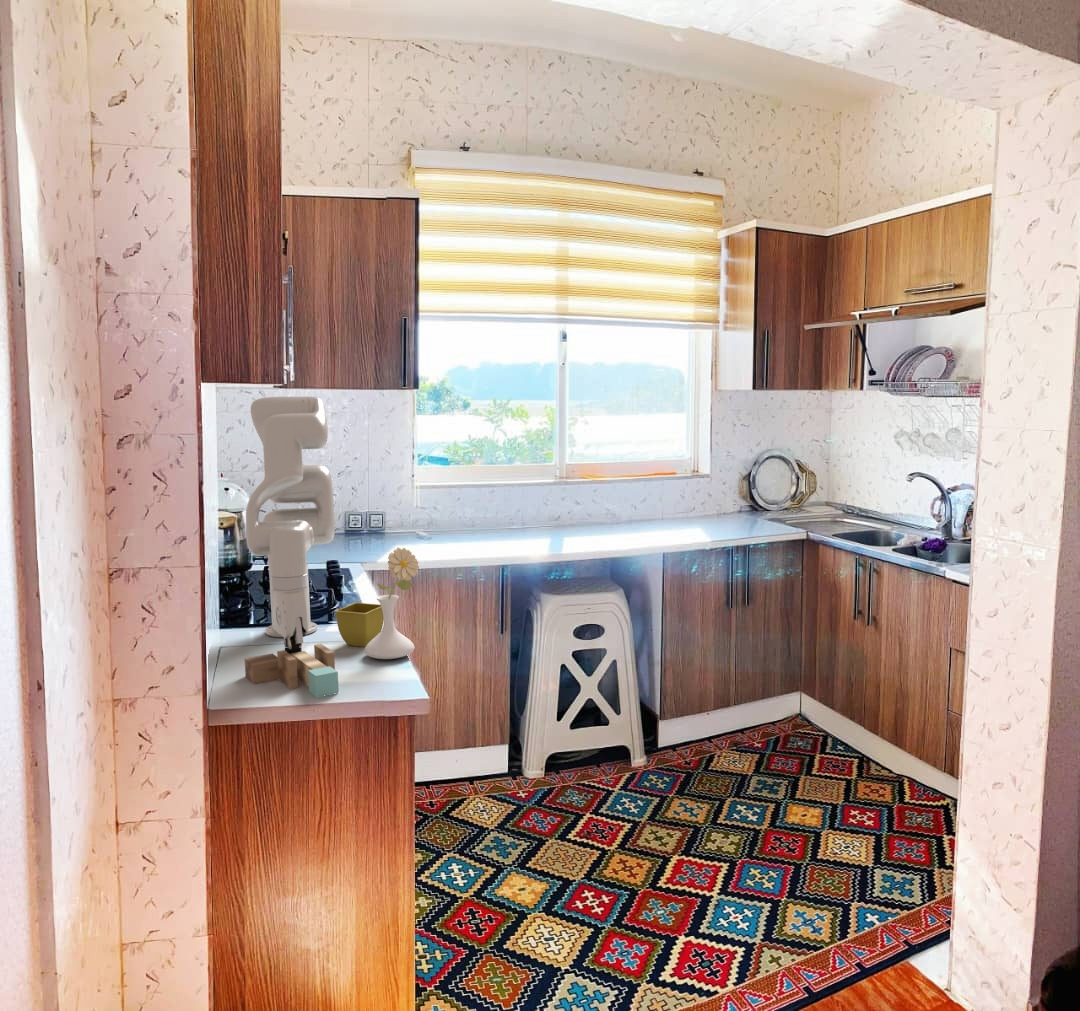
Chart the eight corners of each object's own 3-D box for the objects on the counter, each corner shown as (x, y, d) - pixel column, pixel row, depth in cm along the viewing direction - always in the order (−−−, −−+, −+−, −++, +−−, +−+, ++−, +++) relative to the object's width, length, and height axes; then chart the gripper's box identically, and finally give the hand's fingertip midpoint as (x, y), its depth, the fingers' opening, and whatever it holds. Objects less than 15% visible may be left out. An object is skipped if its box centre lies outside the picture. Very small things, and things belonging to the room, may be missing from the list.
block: (309, 692, 172) (308, 670, 172) (330, 687, 175) (329, 666, 174) (316, 698, 169) (315, 675, 168) (338, 693, 171) (337, 671, 171)
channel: (278, 679, 181) (277, 651, 180) (322, 670, 186) (320, 643, 185) (290, 688, 174) (289, 660, 174) (335, 679, 180) (334, 652, 179)
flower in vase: (370, 666, 189) (365, 554, 186) (360, 652, 199) (355, 547, 196) (427, 658, 194) (423, 549, 191) (415, 646, 204) (411, 542, 201)
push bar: (291, 673, 184) (290, 653, 184) (305, 671, 186) (304, 650, 186) (313, 690, 173) (312, 669, 172) (328, 687, 175) (327, 666, 174)
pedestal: (245, 676, 183) (244, 658, 182) (273, 671, 186) (272, 653, 186) (253, 683, 178) (252, 665, 178) (282, 678, 181) (281, 659, 181)
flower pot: (367, 650, 201) (365, 613, 200) (335, 647, 205) (334, 610, 203) (387, 640, 209) (385, 604, 208) (356, 637, 213) (355, 602, 212)
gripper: (262, 579, 189) (266, 660, 191) (283, 590, 177) (287, 677, 179) (295, 575, 193) (299, 654, 195) (318, 586, 181) (322, 670, 183)
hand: (293, 664), depth 187 cm, fingers closed
